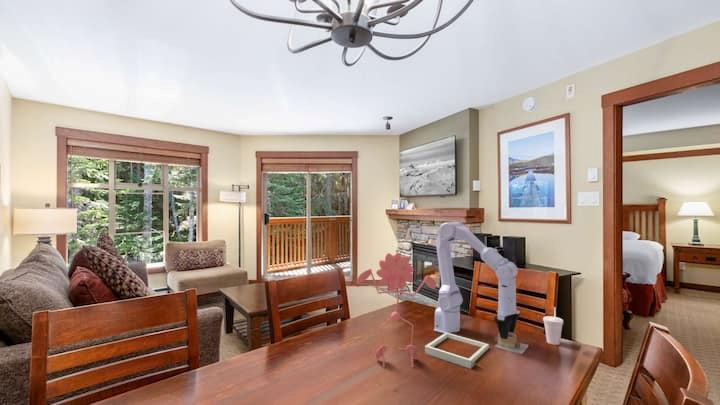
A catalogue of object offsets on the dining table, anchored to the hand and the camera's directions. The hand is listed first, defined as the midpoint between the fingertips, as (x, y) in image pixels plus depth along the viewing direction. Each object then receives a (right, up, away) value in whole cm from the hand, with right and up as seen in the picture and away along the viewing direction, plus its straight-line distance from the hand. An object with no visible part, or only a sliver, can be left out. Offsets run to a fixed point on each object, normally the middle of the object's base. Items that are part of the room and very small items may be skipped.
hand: (507, 335), depth 117 cm
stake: (+1, -5, -1) cm, 5 cm away
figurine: (-41, -5, -7) cm, 42 cm away
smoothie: (+17, -5, +2) cm, 18 cm away
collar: (0, -3, 0) cm, 3 cm away
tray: (-19, -5, -3) cm, 20 cm away
